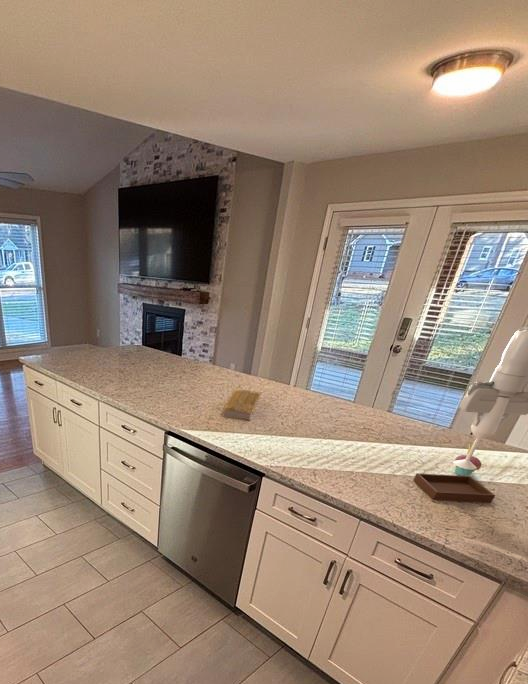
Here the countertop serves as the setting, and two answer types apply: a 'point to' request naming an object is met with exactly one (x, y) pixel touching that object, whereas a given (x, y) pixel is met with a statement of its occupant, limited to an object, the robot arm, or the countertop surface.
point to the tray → (453, 488)
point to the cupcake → (473, 460)
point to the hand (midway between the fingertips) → (485, 425)
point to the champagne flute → (485, 429)
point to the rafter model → (241, 404)
